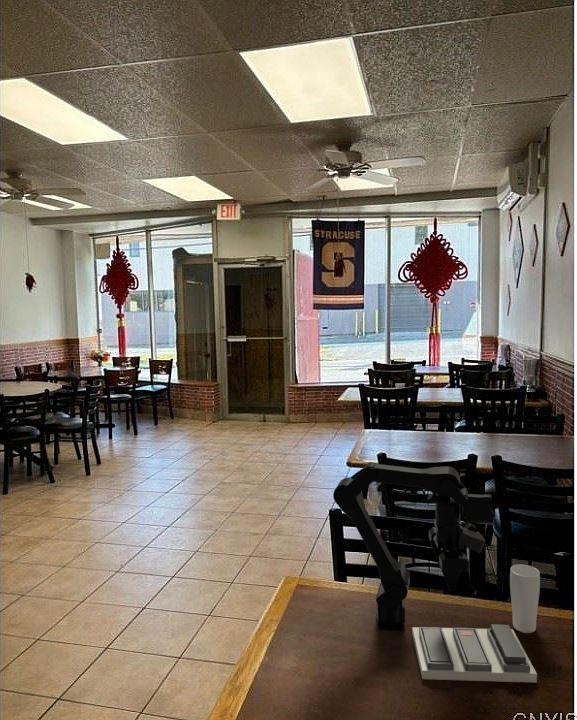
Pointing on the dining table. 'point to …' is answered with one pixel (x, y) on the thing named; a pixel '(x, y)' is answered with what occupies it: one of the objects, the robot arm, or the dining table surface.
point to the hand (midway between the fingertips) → (447, 581)
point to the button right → (508, 644)
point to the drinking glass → (524, 596)
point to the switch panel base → (471, 671)
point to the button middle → (471, 646)
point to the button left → (435, 645)
